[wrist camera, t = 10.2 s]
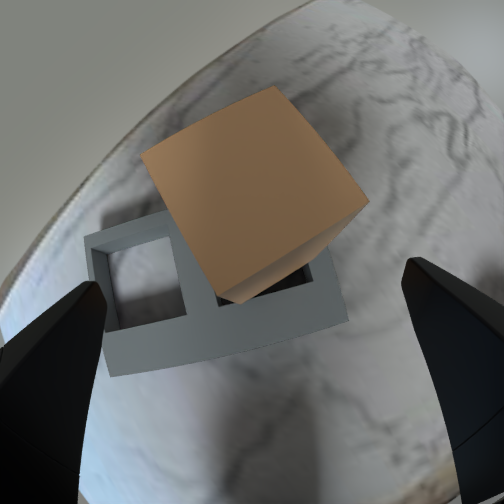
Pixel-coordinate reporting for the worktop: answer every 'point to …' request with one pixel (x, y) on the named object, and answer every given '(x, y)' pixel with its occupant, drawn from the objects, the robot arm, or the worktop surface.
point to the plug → (253, 192)
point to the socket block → (206, 306)
